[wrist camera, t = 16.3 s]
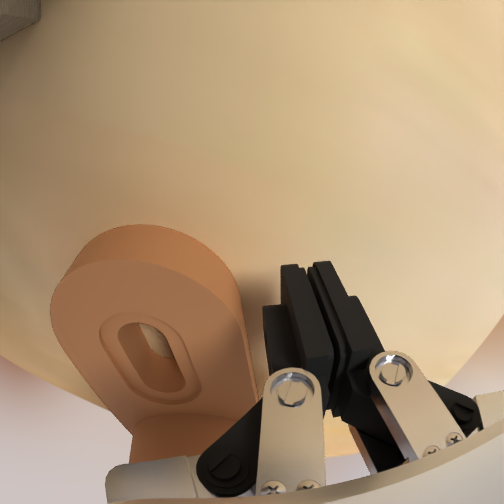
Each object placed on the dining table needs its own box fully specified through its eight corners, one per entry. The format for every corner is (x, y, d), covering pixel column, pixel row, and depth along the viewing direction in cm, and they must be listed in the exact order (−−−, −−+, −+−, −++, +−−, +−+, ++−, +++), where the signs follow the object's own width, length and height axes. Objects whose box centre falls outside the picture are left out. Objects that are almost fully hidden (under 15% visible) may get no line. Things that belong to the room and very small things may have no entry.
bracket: (264, 427, 21) (274, 507, 15) (162, 433, 21) (156, 508, 15) (226, 208, 12) (226, 348, 6) (48, 238, 12) (-34, 348, 6)
